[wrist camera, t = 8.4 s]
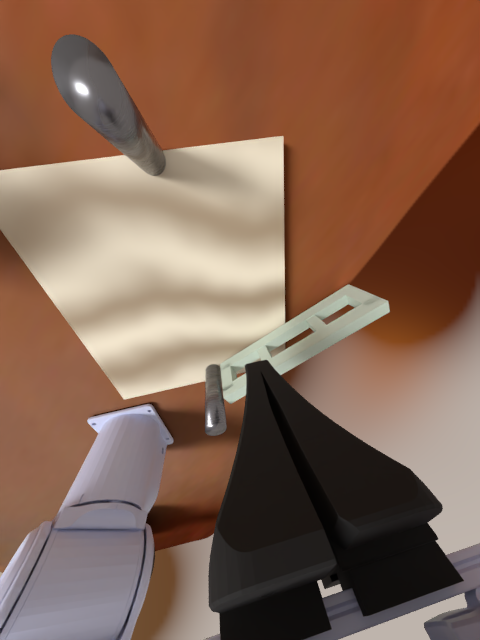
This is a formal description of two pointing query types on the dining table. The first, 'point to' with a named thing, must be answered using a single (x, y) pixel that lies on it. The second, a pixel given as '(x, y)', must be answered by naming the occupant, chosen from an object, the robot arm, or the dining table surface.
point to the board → (157, 255)
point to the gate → (322, 338)
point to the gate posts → (120, 146)
